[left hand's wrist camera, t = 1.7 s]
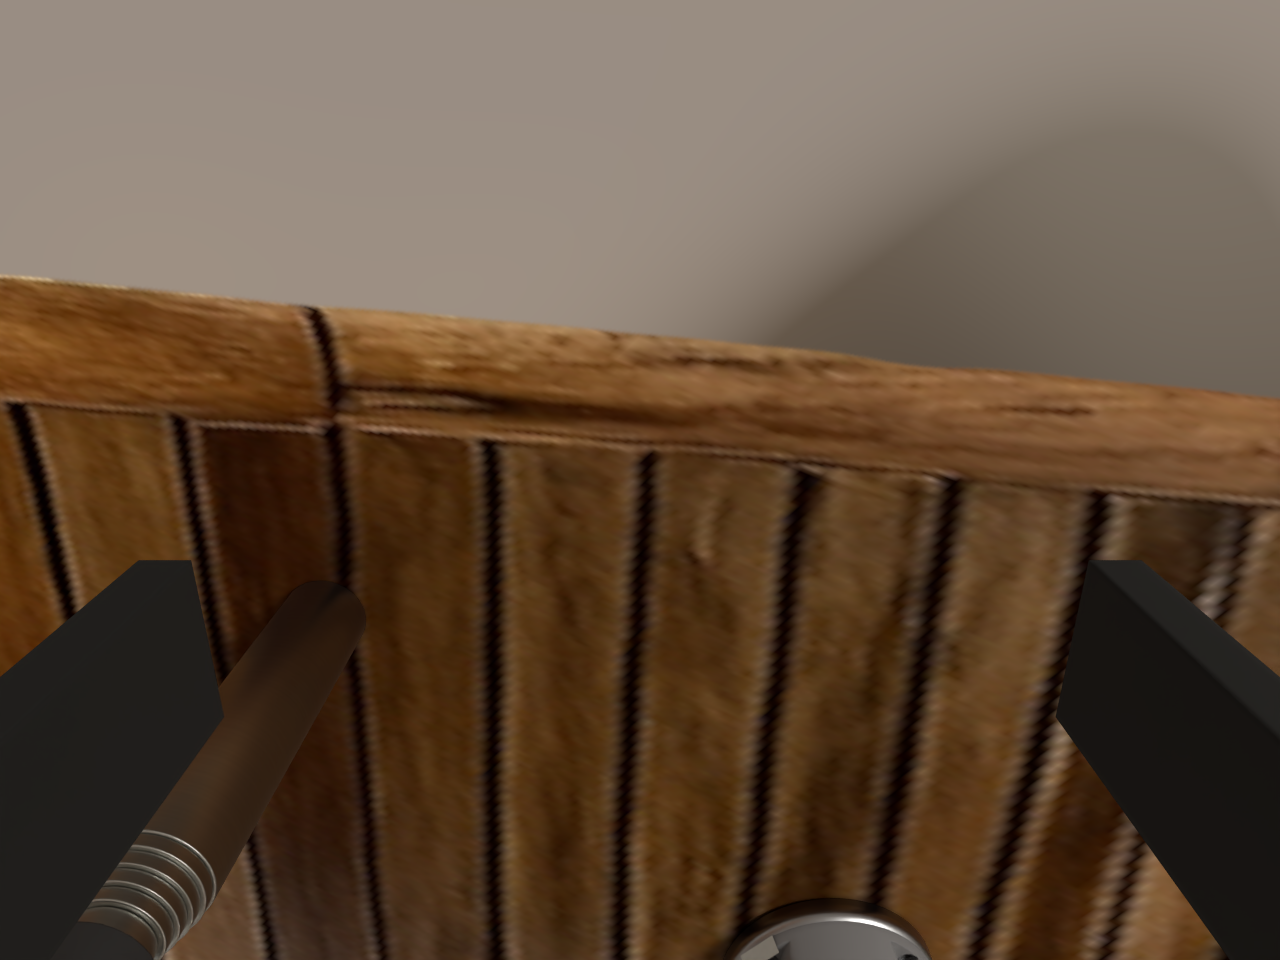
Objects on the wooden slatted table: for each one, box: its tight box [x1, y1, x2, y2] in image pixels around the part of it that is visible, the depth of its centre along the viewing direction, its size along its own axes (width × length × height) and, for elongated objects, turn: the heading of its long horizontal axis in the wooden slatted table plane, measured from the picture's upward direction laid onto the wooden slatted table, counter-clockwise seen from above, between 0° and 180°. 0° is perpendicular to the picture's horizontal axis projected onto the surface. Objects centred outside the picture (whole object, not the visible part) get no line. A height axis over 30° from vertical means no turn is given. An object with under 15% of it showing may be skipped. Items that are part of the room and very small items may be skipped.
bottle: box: [78, 581, 366, 960], centre depth 40 cm, size 5×5×25 cm
